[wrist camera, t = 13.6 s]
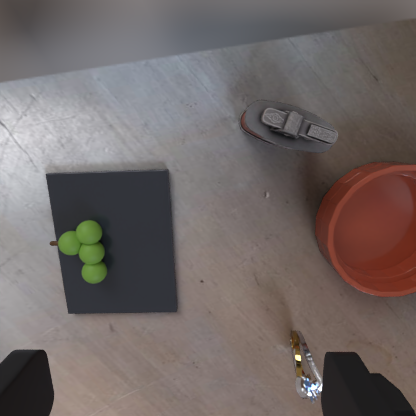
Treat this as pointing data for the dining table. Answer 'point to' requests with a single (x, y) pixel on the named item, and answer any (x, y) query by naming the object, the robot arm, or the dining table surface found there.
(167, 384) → the dining table surface
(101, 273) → the grapes
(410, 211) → the bowl
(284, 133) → the lighter
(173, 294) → the slate board
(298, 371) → the ring
